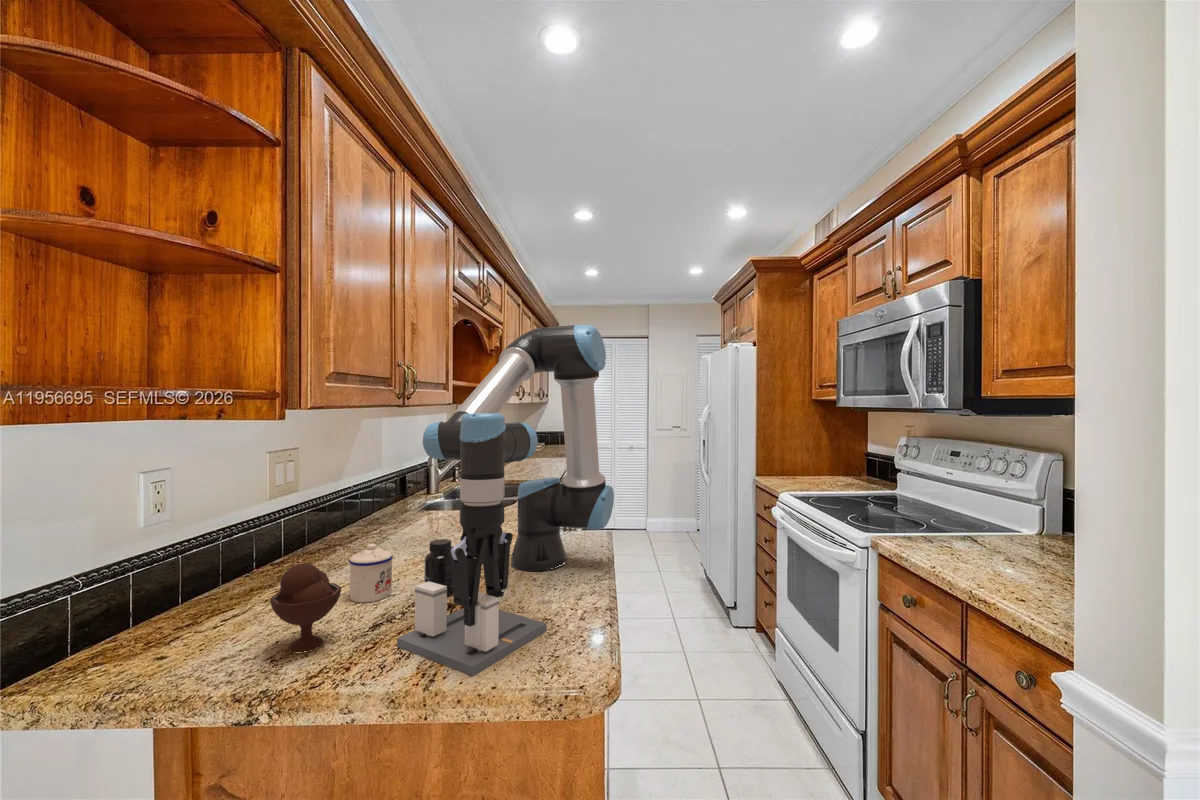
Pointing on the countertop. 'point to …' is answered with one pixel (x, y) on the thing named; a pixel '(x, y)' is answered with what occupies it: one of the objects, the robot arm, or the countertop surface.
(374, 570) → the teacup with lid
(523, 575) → the countertop surface
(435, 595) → the block
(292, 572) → the ice cream bowl
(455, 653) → the fader panel
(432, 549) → the supplement bottle
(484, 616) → the block
